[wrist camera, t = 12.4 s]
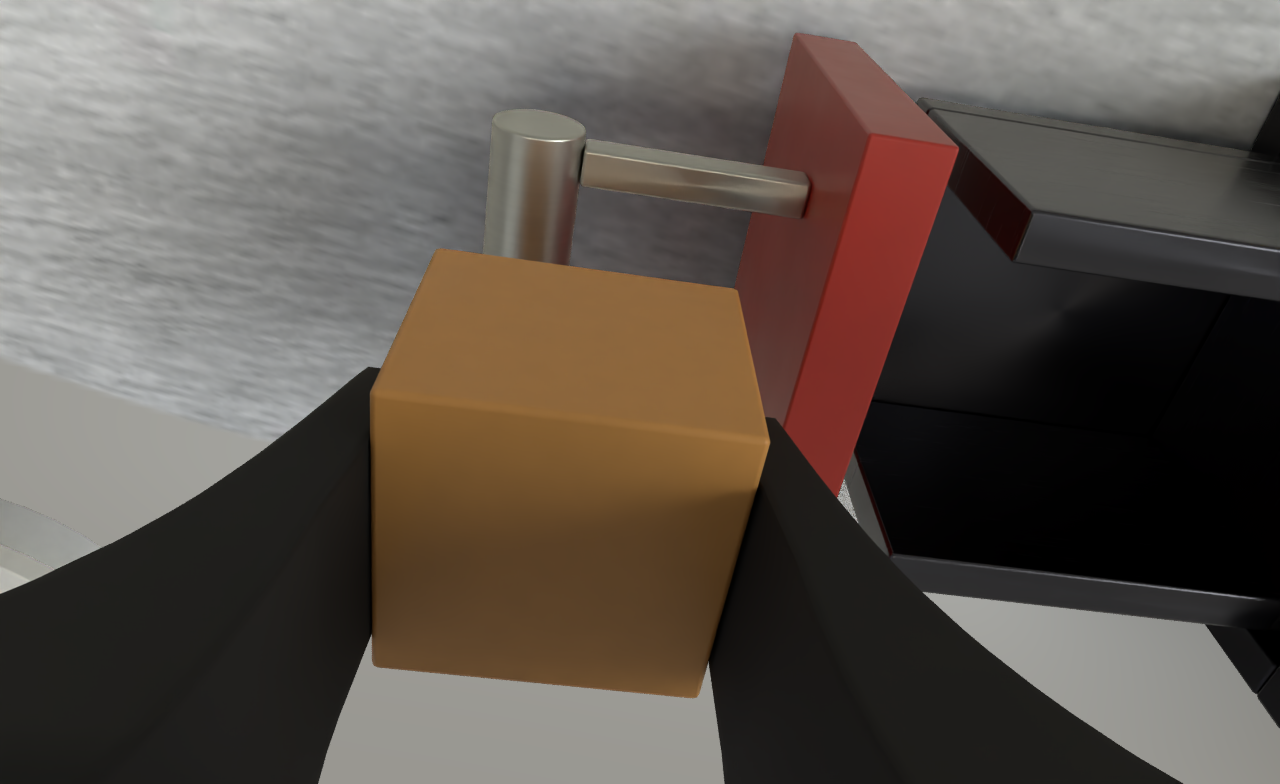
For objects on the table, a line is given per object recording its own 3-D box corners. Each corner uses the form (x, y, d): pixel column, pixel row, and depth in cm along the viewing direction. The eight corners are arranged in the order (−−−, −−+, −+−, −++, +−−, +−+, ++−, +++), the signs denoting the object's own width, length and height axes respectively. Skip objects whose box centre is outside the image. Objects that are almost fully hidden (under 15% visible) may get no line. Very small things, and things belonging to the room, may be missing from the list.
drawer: (493, 381, 21) (444, 579, 15) (526, -14, 16) (474, 69, 11) (1130, 464, 22) (1289, 671, 17) (1322, 120, 18) (1622, 253, 12)
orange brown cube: (686, 517, 14) (699, 701, 11) (426, 487, 14) (370, 669, 11) (738, 287, 12) (774, 441, 9) (435, 245, 12) (367, 390, 9)
